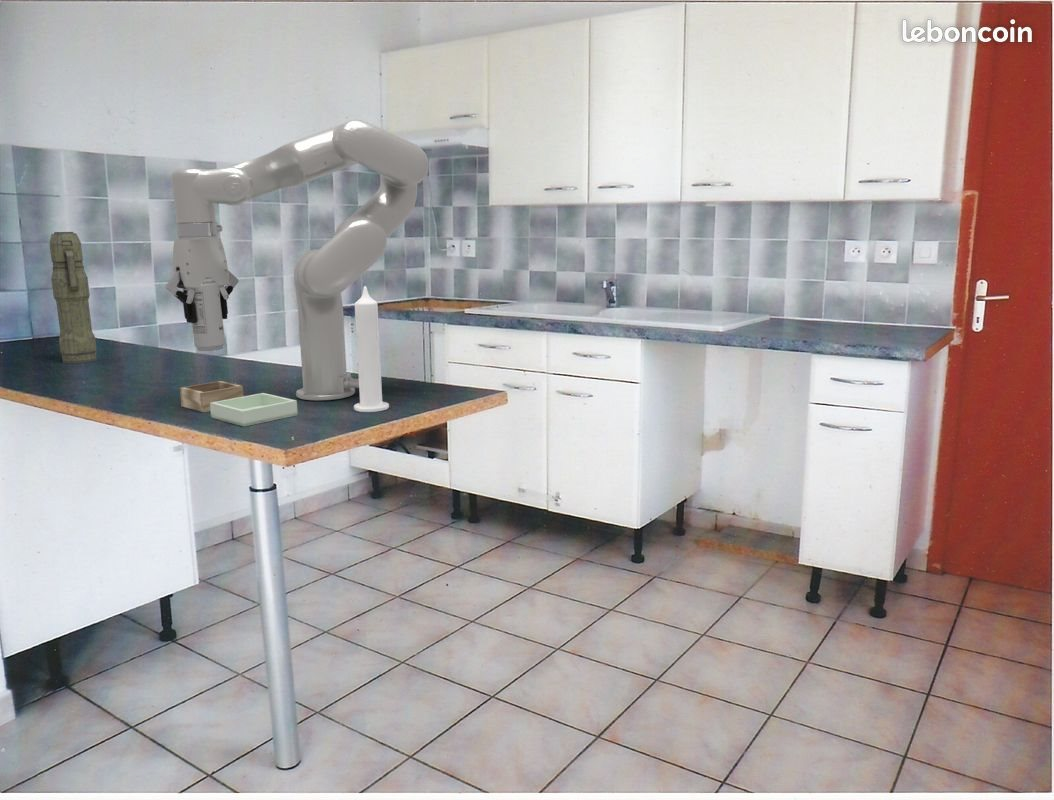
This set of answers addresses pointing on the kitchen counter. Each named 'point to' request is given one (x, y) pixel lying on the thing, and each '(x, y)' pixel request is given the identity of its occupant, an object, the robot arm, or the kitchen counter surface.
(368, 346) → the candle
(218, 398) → the wooden square frame
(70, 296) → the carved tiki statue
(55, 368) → the kitchen counter surface
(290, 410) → the tray
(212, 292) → the energy drink can
